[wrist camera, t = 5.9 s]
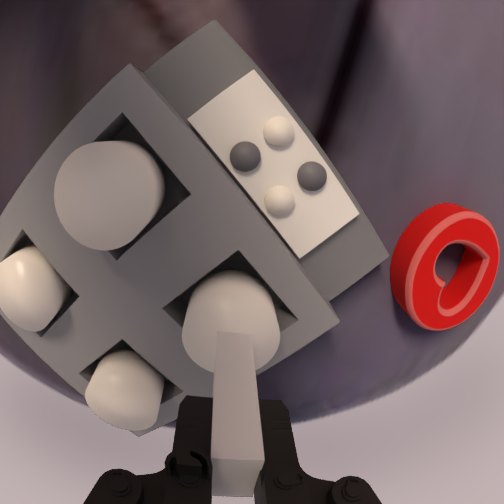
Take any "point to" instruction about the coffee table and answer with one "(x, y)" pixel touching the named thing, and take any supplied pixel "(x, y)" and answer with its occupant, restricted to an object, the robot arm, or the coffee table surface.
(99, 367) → the outer button
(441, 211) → the decorative ornament
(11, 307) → the inner button
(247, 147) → the board
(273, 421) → the robot arm
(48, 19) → the coffee table surface
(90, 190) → the inner button
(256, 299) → the outer button
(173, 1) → the coffee table surface
